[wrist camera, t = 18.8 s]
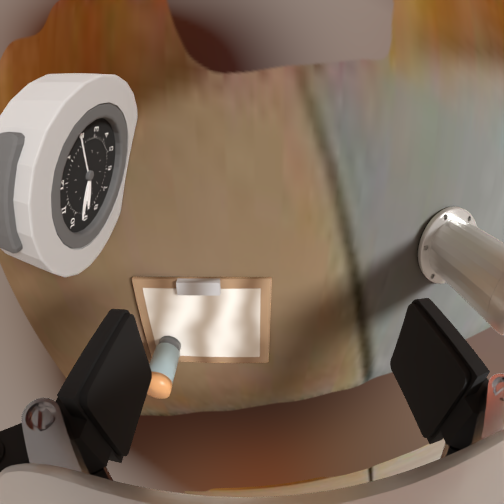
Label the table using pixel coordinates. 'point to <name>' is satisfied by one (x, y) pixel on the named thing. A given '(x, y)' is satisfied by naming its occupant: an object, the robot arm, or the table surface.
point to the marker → (164, 367)
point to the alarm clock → (64, 168)
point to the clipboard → (208, 316)
